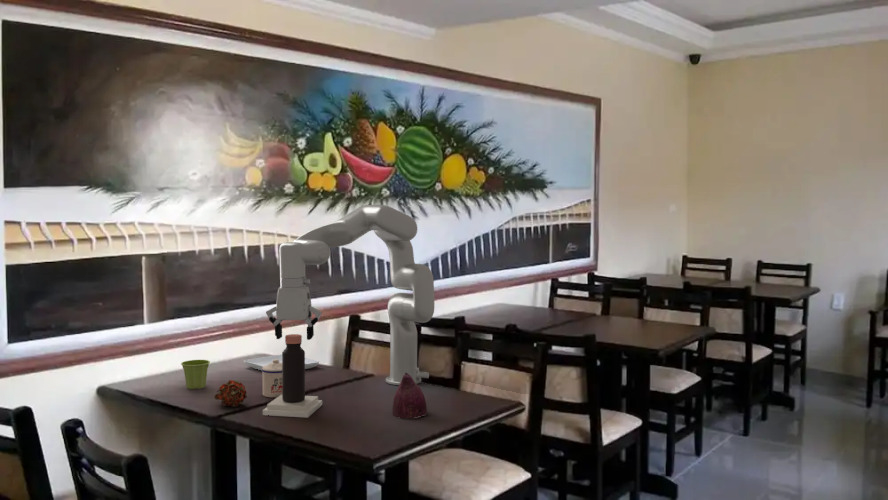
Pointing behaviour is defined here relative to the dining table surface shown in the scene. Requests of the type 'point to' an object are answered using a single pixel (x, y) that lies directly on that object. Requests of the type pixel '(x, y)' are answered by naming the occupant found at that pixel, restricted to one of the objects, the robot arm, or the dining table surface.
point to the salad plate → (263, 361)
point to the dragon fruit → (231, 393)
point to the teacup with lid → (272, 379)
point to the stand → (293, 407)
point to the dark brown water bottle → (293, 370)
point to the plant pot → (195, 373)
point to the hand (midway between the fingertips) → (294, 338)
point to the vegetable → (409, 399)
